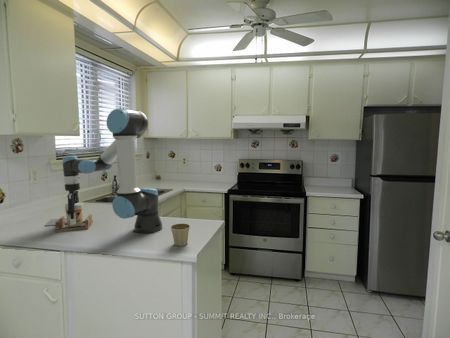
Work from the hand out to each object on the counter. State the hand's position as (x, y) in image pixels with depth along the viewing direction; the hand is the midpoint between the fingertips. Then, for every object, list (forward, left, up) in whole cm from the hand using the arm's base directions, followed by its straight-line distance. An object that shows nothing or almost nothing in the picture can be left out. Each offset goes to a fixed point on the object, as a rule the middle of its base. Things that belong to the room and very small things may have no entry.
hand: (75, 222), depth 169 cm
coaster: (+12, +11, -3) cm, 17 cm away
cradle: (0, 0, -3) cm, 3 cm away
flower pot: (-44, -56, -3) cm, 71 cm away
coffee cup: (0, 0, -2) cm, 2 cm away
